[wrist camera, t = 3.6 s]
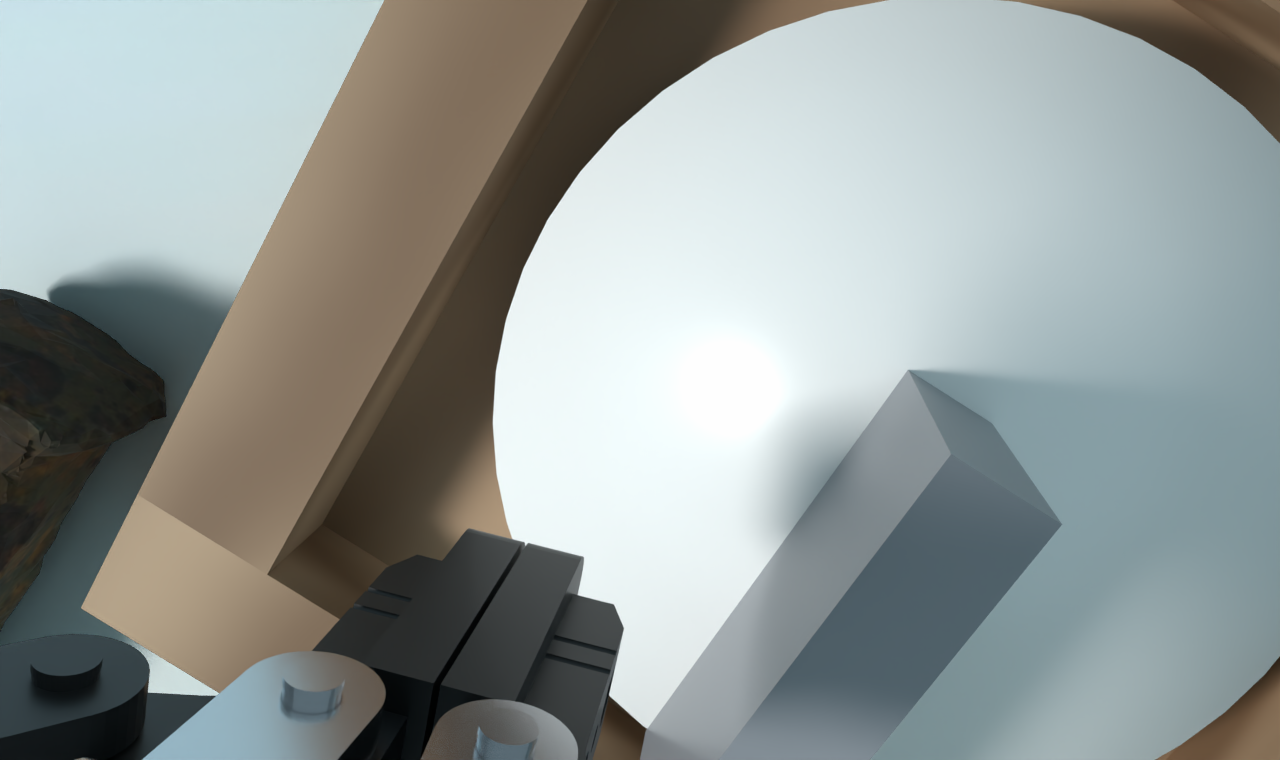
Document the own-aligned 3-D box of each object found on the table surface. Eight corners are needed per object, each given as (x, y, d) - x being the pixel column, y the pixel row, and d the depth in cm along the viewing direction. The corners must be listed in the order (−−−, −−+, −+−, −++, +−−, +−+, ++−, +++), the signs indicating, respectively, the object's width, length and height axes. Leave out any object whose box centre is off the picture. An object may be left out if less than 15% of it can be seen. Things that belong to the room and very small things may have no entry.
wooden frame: (170, 543, 21) (69, 616, 18) (719, -513, 15) (705, -665, 12) (1018, 1065, 21) (1057, 1220, 18) (1838, 227, 16) (2084, 254, 13)
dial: (788, -167, 16) (796, -312, 10) (1514, 306, 16) (1884, 404, 11) (386, 517, 19) (236, 673, 14) (987, 890, 19) (1067, 1182, 14)
